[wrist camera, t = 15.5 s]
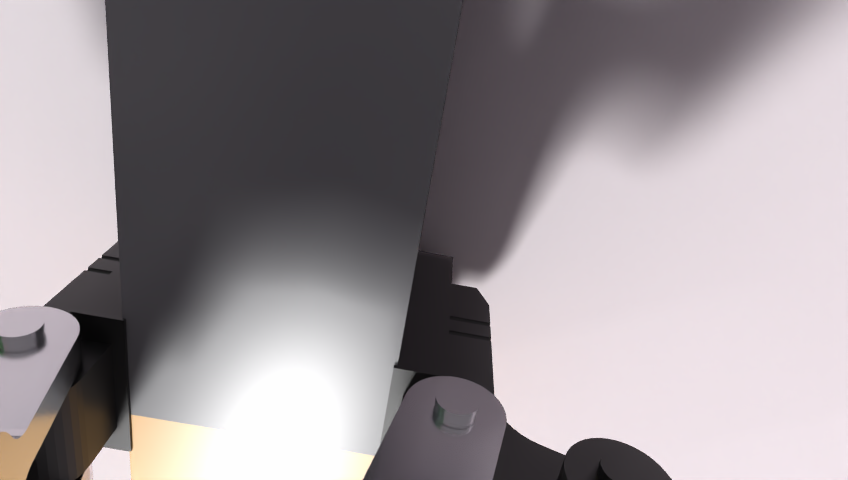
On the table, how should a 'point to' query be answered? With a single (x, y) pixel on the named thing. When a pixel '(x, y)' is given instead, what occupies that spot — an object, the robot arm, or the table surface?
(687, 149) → the table surface
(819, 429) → the table surface
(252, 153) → the plug rod
